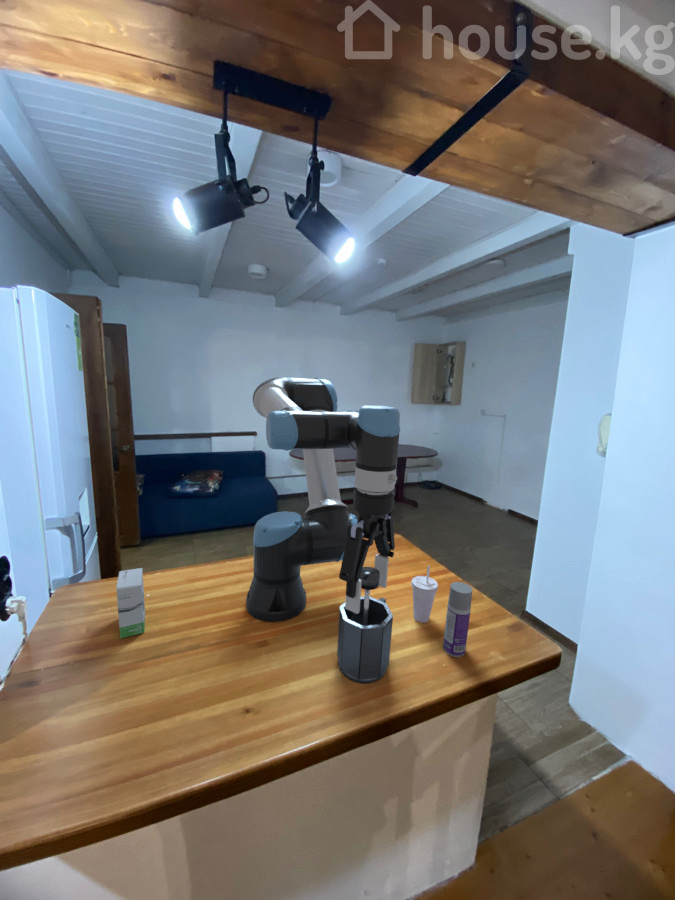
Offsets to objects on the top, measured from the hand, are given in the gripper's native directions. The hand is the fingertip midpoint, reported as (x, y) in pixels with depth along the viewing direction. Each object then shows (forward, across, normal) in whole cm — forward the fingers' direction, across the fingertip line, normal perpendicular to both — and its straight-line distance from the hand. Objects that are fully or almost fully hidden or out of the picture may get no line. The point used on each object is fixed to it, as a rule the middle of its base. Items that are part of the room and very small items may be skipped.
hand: (366, 596), depth 72 cm
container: (+15, +16, -14) cm, 26 cm away
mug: (+15, +1, 0) cm, 15 cm away
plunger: (+12, 0, 0) cm, 12 cm away
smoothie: (+15, +22, -4) cm, 27 cm away
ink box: (+15, -22, +48) cm, 55 cm away
